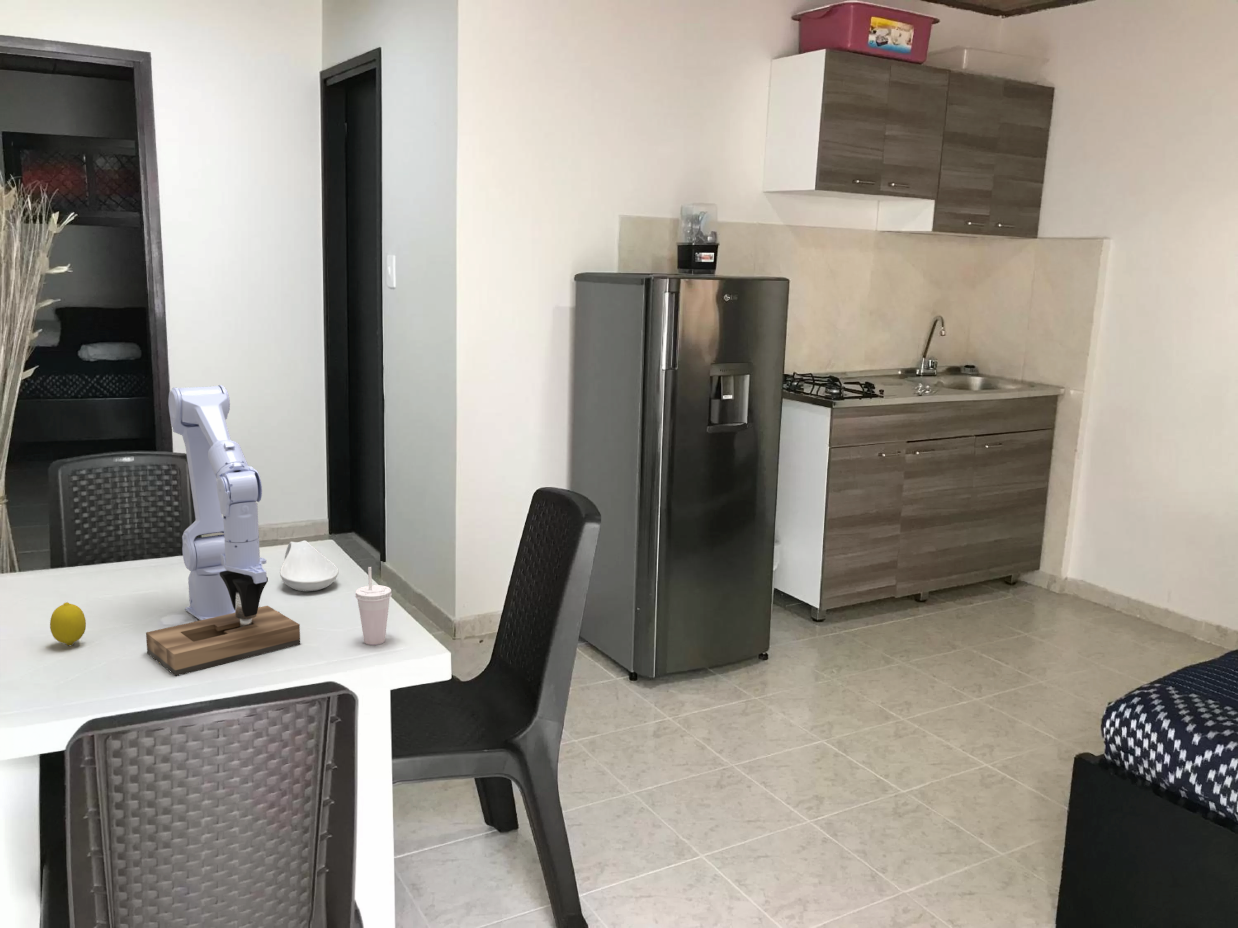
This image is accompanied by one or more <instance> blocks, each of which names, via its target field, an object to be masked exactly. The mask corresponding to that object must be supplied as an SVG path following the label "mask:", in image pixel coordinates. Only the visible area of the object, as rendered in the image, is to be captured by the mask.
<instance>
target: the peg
mask: <svg viewBox="0 0 1238 928" xmlns="http://www.w3.org/2000/svg"><path fill="white" fill-rule="evenodd" d="M256 616H257V614H256V615H252V616H248V617H245V616H244V614H243V611H242V606H241V600H240V596H239V593H238V591H236V605H235V617H236V618H239V619H240V627H244V626H249V625H252V618H255V617H256ZM240 627H238V628H240ZM235 629H236V628H235Z"/></svg>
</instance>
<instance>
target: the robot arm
mask: <svg viewBox="0 0 1238 928" xmlns="http://www.w3.org/2000/svg"><path fill="white" fill-rule="evenodd" d="M167 402H168V403H167V404H168V413H169V417H170V424H171V425H170V426H171V428H172V431H173V433H175V434H177V435H180V436H181V437H182V439H183V443H184V446H185V452H186V453H185V454H186V460H187V466H188V473H189V475H188V476H189V481H190V489H191V494H192V495H191V496H192V502H193V509H194V517H195V520H194V522H193V523H191V524H190V525H189V526H188V527H187V528H186V529H185V530H184V531H183V534H182V536H181V538H182V539H181V540H182V549H181V550H182V557H183V558H182V559H183V563H184V566H185V568H186V569H187V570H188V571H190V572H189V575H188V578H187V581H188V583H187V584H188V598H189V601H188V602H189V606H185V608H184V611H186V612H188V613H189V614H191V616H193V617H195V618H197V619H198V621H200V620H204V619H209V618H213V617H218V616H222V615H227V614H231V613H235V605H236V591H238V593H239V596H240V600H241V606H242V611H243V614H244V616H245V617H248V616H252V615H256V614H257V611H258V607H260V606H259V605H260V600H261V597H262V594H263V592H264V589H265V587H266V585H267V583H268V582H269V581H268V580H269V577H268V576H267V570H265V569H264V566H263V565H265V564H267V559H266V558H264V557H261V555H260V552H261V551H260V534H259V531H260V530H259V511H258V510H259V509H258V508H259V507H258V503H260V501H262V496H263V485H262V480H261V476H260V473H259V472H258V470H257V469H255V468H254V467H253V466H252V465H251V466H250V465H249V464H248V462H247V459H246V457H245V455H244V452H243V450H242V447H241V445H240V444H239V442H237V441H235V440H231V435H230V432H229V428H228V425H227V421H226V420H227V419H228V415H229V413H230V410H231V409H230V408H231V403H230V395H229V391H228V389H227V388H225V386H224V385H223V384H219V385H213V386H211V385H210V386H193V387H192V386H190V387H189V386H188V387H172V388H171V390H170V391H169V392H168V401H167ZM257 502H258V503H257ZM218 533H220V534H218ZM212 534H216V535H212ZM203 535H209V536H203ZM197 536H202V537H197Z"/></svg>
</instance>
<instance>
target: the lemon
mask: <svg viewBox="0 0 1238 928" xmlns="http://www.w3.org/2000/svg"><path fill="white" fill-rule="evenodd" d="M49 621H50V622H49V628H50V632H51V635H52V637H53V638H54V640H56V641H57V642H59V643H62V644H65V645H66V646H68V645H71V646H73V644H74V643H76V642H78V641H79V640H80V639H81V638H82V637H83V636H84V634H85V631H86V627H87V619H86V616H85V614H84V612H83V610H82V608H80V607H79V606H78V605H76V604H73V603H69V602H68V601H67V602H66V601H65V602H64V603H63V604H61V605H59V606H58V607H56V608H55V609H54V611H53V612H52V613H51V617H50V620H49Z"/></svg>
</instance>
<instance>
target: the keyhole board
mask: <svg viewBox="0 0 1238 928" xmlns="http://www.w3.org/2000/svg"><path fill="white" fill-rule="evenodd" d="M238 627H240V619H239V618H236V617H235V613H231V614H227V615H222V616H218V617H213V618H209V619H204V620H196V621H192V622H187V623H182V624H178V625H174V626H168V627H164V628H160V629H156V630H151V631H147V632H145V639H146V651H147V652H146V653H147V654H148V655H149V656H150V655H151V656H150V657H151V658H153V657H154V658H155V659H156V660H157V663H159V662H160V663H161V664H162V665H161V664H160V663H159V664H160V665H161V666H163V667H164V668H165V667H166V668H167V669H166V668H165V669H166V670H167V671H169V670H170V671H171V672H172V673H173V674H172V673H171V672H170V671H169V672H170V673H171V674H172V675H173V676H175V675H178V676H180V675H179V674H182V675H184V674H185V673H186V674H189V672H190V673H193V672H197V671H200V670H204V669H209V668H212V667H217V666H219V665H220V666H221V665H225V664H228V663H232V662H236V661H239V660H244V659H247V658H251V657H252V658H253V657H255V656H260V655H265V654H268V653H272V652H275V651H280V650H283V649H286V648H291V647H296V646H299V645H301V631H300V630H301V628H300V627H301V626H300V623H298V622H296V621H295V620H293V619H291V618H290V617H288V616H286V615H285V614H283V613H282V612H279V611H277V610H276V609H274V608H273V607H270V606H269V605H264V606H258V611H257V616H256V617H255V618H252V625H249V626H244V627H240V628H238ZM235 628H236V629H235ZM154 658H153V659H154ZM155 659H154V660H155ZM156 660H155V661H156ZM186 674H185V675H186Z"/></svg>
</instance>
